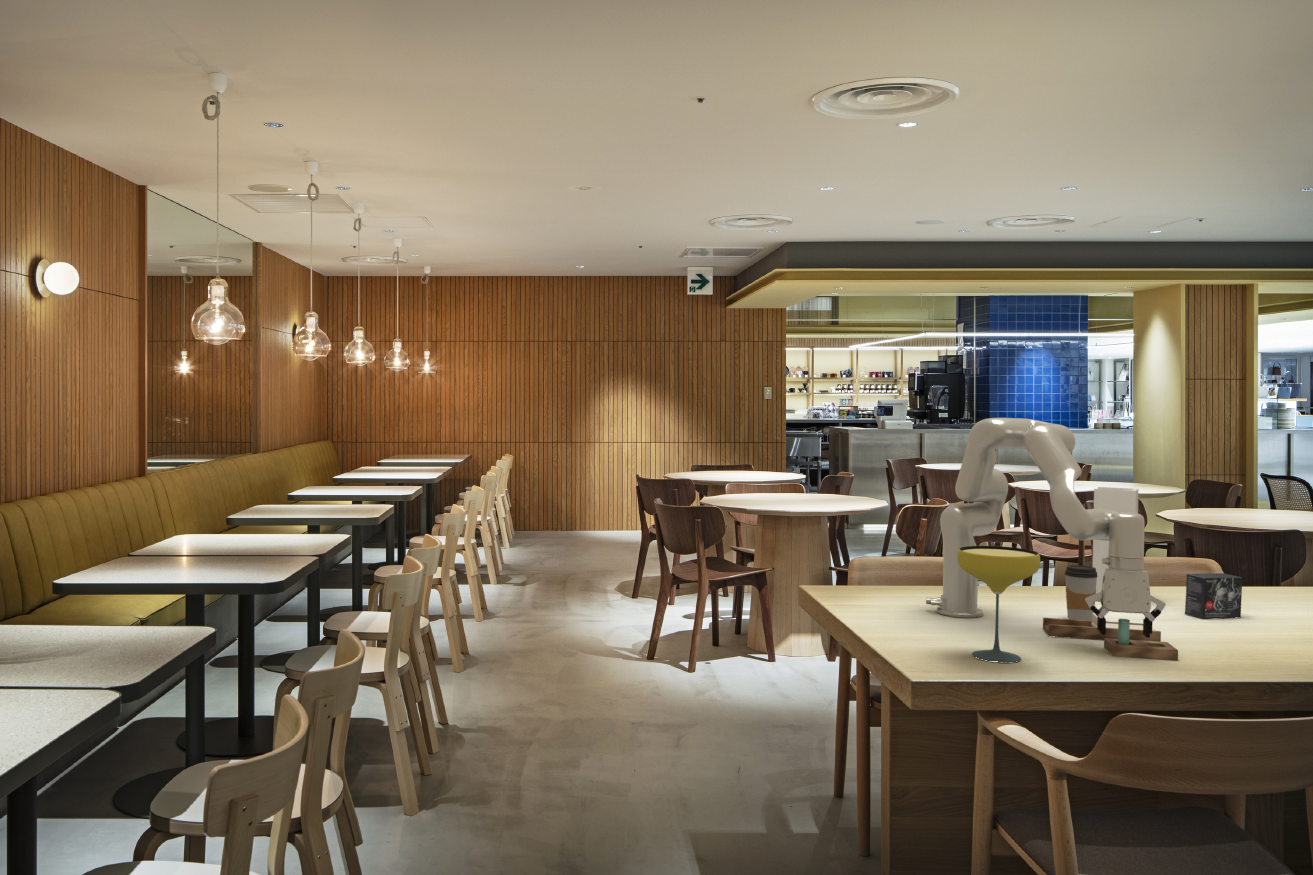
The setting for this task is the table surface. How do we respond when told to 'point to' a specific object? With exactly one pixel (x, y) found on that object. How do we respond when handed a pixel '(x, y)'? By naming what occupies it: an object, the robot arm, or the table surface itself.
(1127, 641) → the pin
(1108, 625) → the lid
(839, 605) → the table surface
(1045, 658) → the table surface
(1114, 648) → the pin board
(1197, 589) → the small box
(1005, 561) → the cocktail glass
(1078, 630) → the board
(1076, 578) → the coffee cup
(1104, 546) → the mini fridge
